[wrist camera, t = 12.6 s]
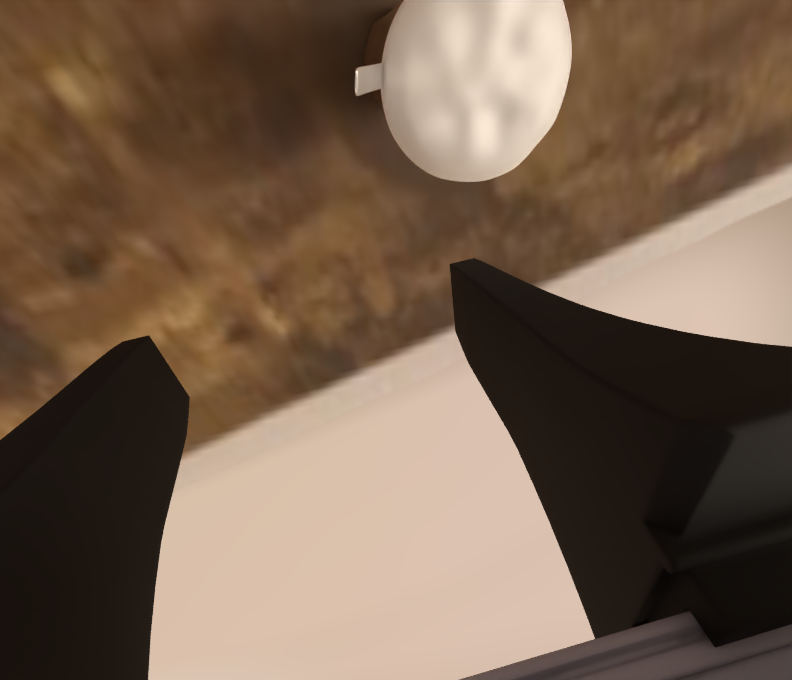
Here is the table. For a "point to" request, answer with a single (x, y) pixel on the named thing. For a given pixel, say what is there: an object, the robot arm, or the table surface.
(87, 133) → the table surface
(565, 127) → the table surface
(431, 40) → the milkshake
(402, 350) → the table surface
